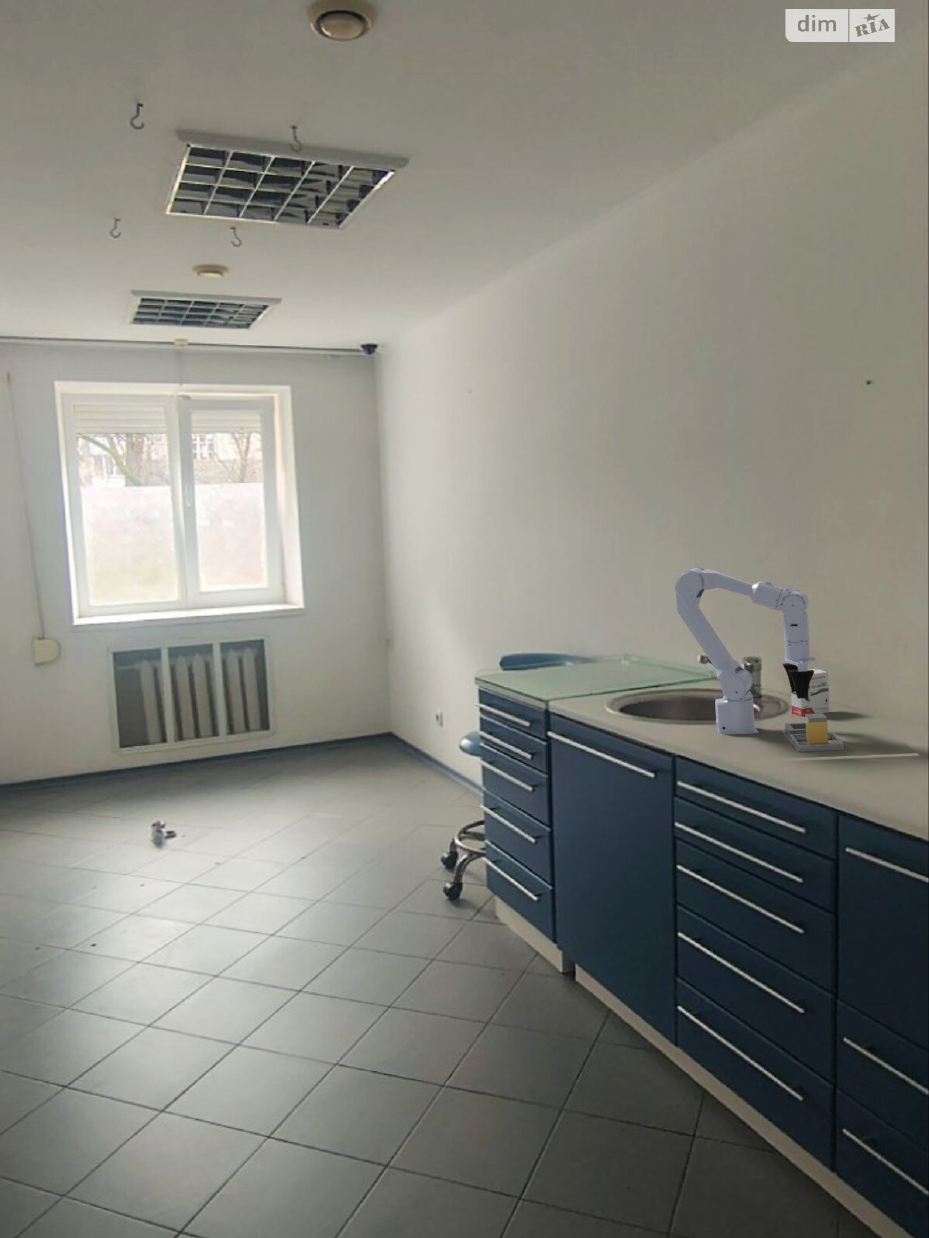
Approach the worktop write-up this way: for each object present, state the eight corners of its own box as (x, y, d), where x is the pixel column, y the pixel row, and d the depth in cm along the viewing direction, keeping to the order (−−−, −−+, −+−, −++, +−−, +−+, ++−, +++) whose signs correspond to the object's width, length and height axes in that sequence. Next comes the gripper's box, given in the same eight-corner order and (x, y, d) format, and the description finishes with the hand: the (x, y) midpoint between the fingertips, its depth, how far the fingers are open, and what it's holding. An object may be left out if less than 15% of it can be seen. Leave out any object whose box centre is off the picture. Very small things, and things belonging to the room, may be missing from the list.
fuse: (810, 747, 203) (808, 718, 202) (806, 743, 207) (805, 714, 206) (828, 747, 202) (826, 717, 201) (824, 742, 206) (823, 713, 205)
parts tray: (798, 754, 201) (797, 745, 200) (790, 742, 210) (789, 734, 210) (844, 752, 199) (843, 743, 198) (833, 740, 208) (833, 732, 208)
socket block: (787, 741, 211) (786, 731, 211) (780, 731, 220) (779, 722, 220) (826, 739, 210) (825, 729, 209) (818, 730, 218) (817, 720, 218)
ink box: (802, 718, 231) (800, 675, 229) (791, 715, 235) (789, 672, 234) (830, 714, 232) (828, 670, 231) (819, 710, 237) (817, 667, 236)
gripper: (819, 644, 206) (822, 700, 208) (808, 635, 220) (810, 687, 222) (788, 646, 208) (791, 701, 209) (778, 636, 222) (781, 689, 223)
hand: (799, 694), depth 216 cm, fingers open, 7 cm apart
